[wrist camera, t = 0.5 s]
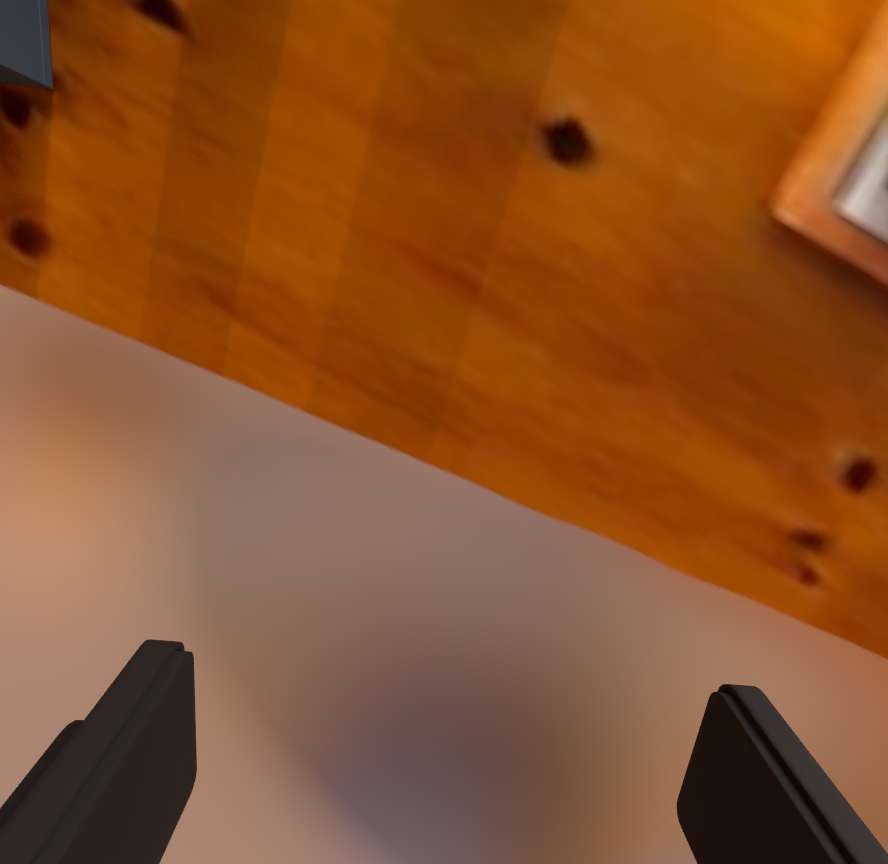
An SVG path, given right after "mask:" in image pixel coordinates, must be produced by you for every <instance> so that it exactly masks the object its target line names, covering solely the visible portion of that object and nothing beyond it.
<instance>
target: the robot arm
mask: <svg viewBox="0 0 888 864" xmlns="http://www.w3.org/2000/svg"><path fill="white" fill-rule="evenodd" d="M195 725H196V723H195V688H194V657H193V654H192V652H187V651H185V650H184V645H183V643H181V642H175V641H162V640H146V641H145V642H144V643H143V644H142V645H141V646H140V647H139V649H138V650H137V651H136V653H135V654H134V655H133V656H132V658H131V659H130V660H129V662H128V663H127V664H126V666H125V667H124V668H123V670H122V671H121V672H120V674H119V675H118V676H117V678H116V679H115V680H114V681H113V683H112V684H111V685H110V687H109V688H108V689H107V691H106V692H105V693H104V695H103V696H102V697H101V699H100V700H99V701H98V702H97V704H96V705H95V706H94V708H93V709H92V710H91V712H90V713H89V714H88V716H87V717H86V718H85V720H75V721H73V722H72V723H70V724H68V725H67V726H66V727H65V728H64V729H63V730H62V732H61V733H60V734H59V735H58V736H57V738H56V739H55V740H54V741H53V742H52V744H51V745H50V746H49V748H48V749H47V750H46V751H45V753H44V754H43V755H42V756H41V758H40V759H39V760H38V762H37V763H36V764H35V765H34V767H33V768H32V769H31V770H30V772H29V773H28V774H27V775H26V777H25V778H24V779H23V780H22V782H21V783H20V784H19V786H18V787H17V788H16V789H15V790H14V792H13V793H12V794H11V796H10V797H9V798H8V799H7V801H6V802H5V803H4V804H3V806H2V807H1V808H0V864H159V863H160V861H161V858H162V856H163V854H164V852H165V850H166V847H167V845H168V843H169V841H170V839H171V836H172V834H173V832H174V830H175V827H176V825H177V823H178V821H179V819H180V816H181V814H182V812H183V810H184V808H185V805H186V803H187V801H188V799H189V797H190V794H191V792H192V789H193V786H194V782H195V778H196V771H197V762H196V761H197V759H196V726H195ZM677 814H678V818H679V822H680V825H681V828H682V830H683V832H684V834H685V837H686V839H687V841H688V843H689V846H690V848H691V850H692V852H693V855H694V857H695V859H696V861H697V864H888V854H887V852H886V851H885V850H884V848H883V847H882V846H881V845H880V843H879V842H878V841H877V839H876V838H875V837H874V836H873V834H872V833H871V832H870V830H869V829H868V828H867V826H866V825H865V824H864V822H863V821H862V820H861V819H860V817H859V816H858V815H857V814H856V812H855V811H854V810H853V808H852V807H851V806H850V804H849V803H848V802H847V800H846V799H845V798H844V797H843V795H842V794H841V793H840V791H839V790H838V789H837V788H836V786H835V785H834V784H833V783H832V781H831V780H830V778H829V777H828V776H827V775H826V773H825V772H824V771H823V769H822V768H821V767H820V765H819V764H818V763H817V762H816V760H815V759H814V758H813V757H812V755H811V754H810V753H809V751H808V750H807V749H806V748H805V746H804V745H803V743H802V742H801V741H800V740H799V738H798V737H797V736H796V735H795V733H794V732H793V731H792V729H791V728H790V727H789V725H788V724H787V723H786V721H785V720H784V719H783V718H782V716H781V715H780V714H779V712H778V711H777V710H776V708H775V707H774V706H773V705H772V703H771V702H770V701H769V699H768V698H767V697H766V696H765V694H764V693H763V692H762V691H761V690H760V689H759V688H757V687H755V686H744V685H731V684H723V685H722V686H720V687H719V689H718V691H717V692H713V693H712V694H711V696H710V697H709V700H708V703H707V707H706V710H705V713H704V716H703V719H702V723H701V726H700V729H699V732H698V735H697V739H696V742H695V745H694V748H693V752H692V755H691V758H690V762H689V764H688V768H687V771H686V774H685V777H684V780H683V784H682V787H681V790H680V793H679V796H678V800H677Z"/></svg>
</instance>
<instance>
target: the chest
mask: <svg viewBox="0 0 888 864" xmlns="http://www.w3.org/2000/svg"><path fill="white" fill-rule="evenodd" d="M0 82H6V83H12V84H19V85H26V86H32V87H39V88H46V89H53V78H52V63H51V48H50V33H49V18H48V3H47V0H0Z"/></svg>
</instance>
